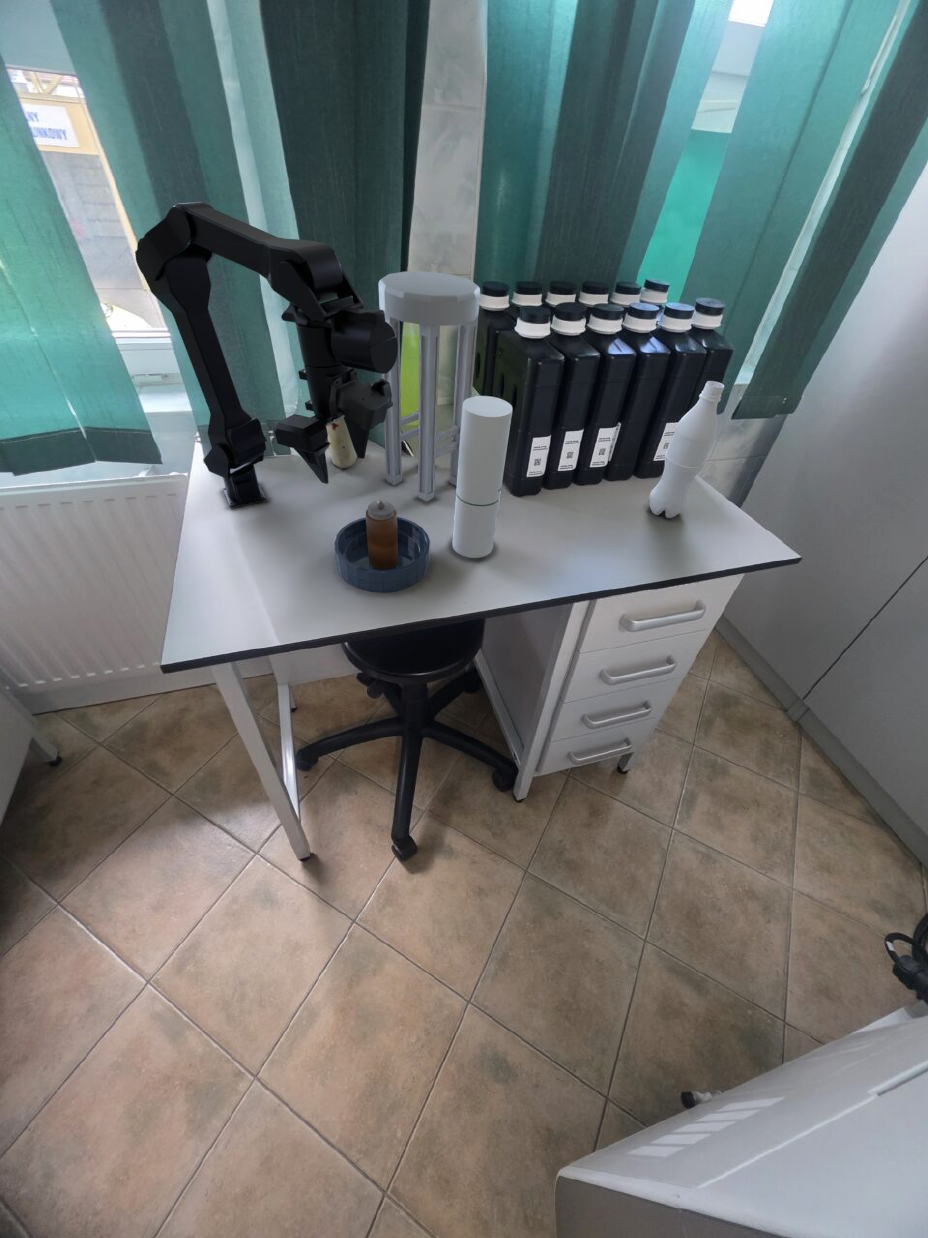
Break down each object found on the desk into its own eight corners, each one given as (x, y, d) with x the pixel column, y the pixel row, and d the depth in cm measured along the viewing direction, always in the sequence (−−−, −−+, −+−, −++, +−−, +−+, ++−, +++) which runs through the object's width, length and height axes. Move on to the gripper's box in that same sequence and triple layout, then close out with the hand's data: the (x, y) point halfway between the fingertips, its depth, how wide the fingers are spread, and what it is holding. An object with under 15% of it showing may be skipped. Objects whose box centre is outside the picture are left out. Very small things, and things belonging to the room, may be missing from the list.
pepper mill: (364, 556, 85) (359, 496, 76) (391, 549, 87) (389, 490, 78) (375, 573, 82) (371, 512, 74) (402, 566, 84) (401, 505, 76)
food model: (359, 473, 104) (350, 371, 90) (326, 471, 104) (312, 369, 90) (364, 450, 111) (357, 353, 97) (333, 449, 111) (322, 350, 97)
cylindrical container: (497, 541, 91) (518, 402, 74) (485, 564, 86) (504, 420, 69) (460, 531, 93) (471, 392, 75) (446, 553, 88) (455, 410, 70)
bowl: (324, 549, 86) (321, 527, 83) (406, 528, 92) (406, 507, 89) (356, 605, 77) (354, 583, 74) (444, 578, 83) (446, 557, 80)
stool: (478, 483, 105) (499, 286, 80) (426, 511, 96) (431, 300, 72) (425, 456, 112) (429, 266, 87) (371, 480, 103) (359, 276, 78)
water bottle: (643, 514, 101) (692, 386, 84) (647, 497, 106) (695, 373, 88) (679, 524, 100) (737, 396, 82) (682, 507, 105) (737, 382, 87)
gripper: (329, 392, 59) (350, 510, 69) (412, 351, 71) (419, 456, 82) (257, 378, 63) (287, 492, 73) (348, 340, 75) (362, 443, 85)
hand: (343, 469), depth 78 cm, fingers open, 9 cm apart
